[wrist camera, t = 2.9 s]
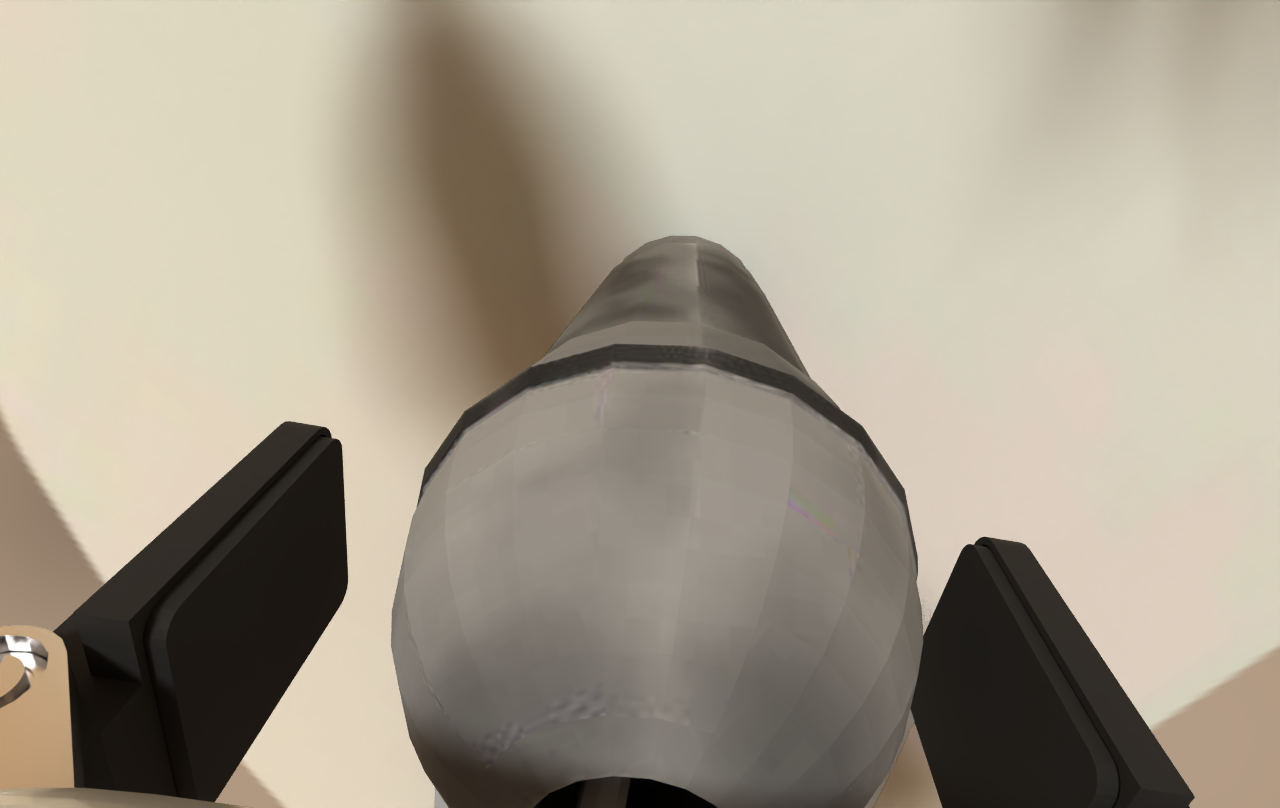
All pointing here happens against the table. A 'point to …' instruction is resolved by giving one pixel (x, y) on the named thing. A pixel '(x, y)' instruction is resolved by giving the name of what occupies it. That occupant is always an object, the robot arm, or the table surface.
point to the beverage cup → (659, 568)
